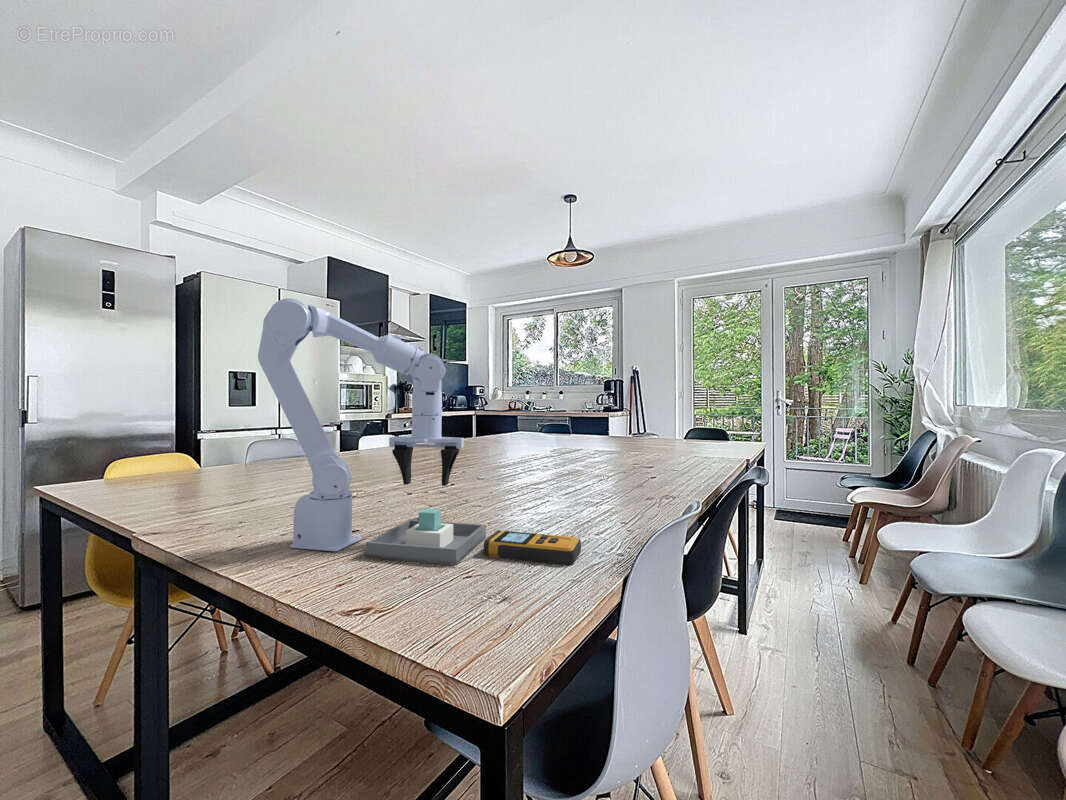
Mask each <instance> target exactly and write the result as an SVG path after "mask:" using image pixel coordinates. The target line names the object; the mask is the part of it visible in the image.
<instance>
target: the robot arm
mask: <svg viewBox="0 0 1066 800" xmlns="http://www.w3.org/2000/svg"><path fill="white" fill-rule="evenodd" d="M262 323H263V324H262V331H261V337H260V342H259V343H260V344H259V348H258V352H257V360H258V363H259V364H260V367H261V369H262V371H263V373H264V375H265V377H266V378H267V381H268V383H269V385H270V387H271V389H272V391H273V393H274V395H275V397H276V399H277V401H278V403H279V405H280V406H281V409H282V411H283V413H284V414H285V417H286V419H287V420H288V423H289V425H290V427H291V429H292V431H293V433H294V434H295V436H296V439H297V440H298V443H299V445H300V447H301V448H302V451H303V453H304V456H305V458H306V461H307V463H308V465H309V467H310V470H311V472H312V479H311V481H312V483H311V484H312V486H313V489H312V491H310V492H309V494H303V495H302V496H301V497H299V498H298V499H297V500H296V503H295V505H294V508H293V509H294V510H293V523H292V524H293V525H292V526H293V527H292V529H293V531H292V532H293V535H292V536H293V539H292V541H293V543H292V544H290V545H289V547H290V548H291V549H303V550H304V549H305V550H312V551H314V550H315V551H324V552H325V551H327V552H340V551H341V550H343V549H345V548H347V547H350V546H351V545H353V544H355V543H357V542H359V541H360V540H362V536H358V535H353V490H350V489H349V487H350V486H351V483H352V473H351V470H350V469H349V466H348V464H347V462H346V461H345V460H344V459H343V458H341V457H339V456H338V455H337V454H336V452H335V450H334V448H333V446H332V444H331V442H330V440H329V439H328V436H327V434H326V432H325V430H324V428H323V426H322V424H321V422H320V419H319V418H318V416H317V413H316V412H315V410H314V407H313V405H312V404H311V401H310V399H309V397H308V395H307V393H306V391H305V389H304V387H303V385H302V383H301V381H300V379H299V377H298V375H297V373H296V371H295V369H294V367H293V364H292V363H291V360H292V358H293V355H294V354H295V353H296V352H295V351H296V350H297V348H298V345H300V344H301V342H303V341H304V340H305V339H306V338H307V337H308V335H309V334H310V333H311V332H312V337H313V338H319V337H321V338H322V337H332V338H335V339H336V340H339V341H342V342H344V343H347V344H349V345H351V346H354V347H356V348H359V349H362V350H364V351H367V352H369V353H371V354H372V356H373V358H374V361H375V362H376V363H377V364H379V365H382V366H383V367H387V368H388V369H391V370H393V371H395V372H397V373H400V374H402V375H405V376H408V375H409V376H410V377H411V379H412V381H413V382H412V393H411V396H412V397H411V435H410V436H389V438H388V447H390V448H393V449H392V450H391V451H392V455H393V456H394V458H395V460H396V462H397V464H398V467H399V470H400V473H401V477H402V483H403V485H409V484H411V482H412V459H413V452H414V448H437V449H438V448H440V457H441V459H440V460H441V486H442V487H446V486H448V485H449V481H450V476H451V472H452V470H453V467H454V464H455V462H456V459H457V457H458V455H459V453H460V450H461V449H463V448H464V447H465V439H464V438H465V437H449V436H442V429H443V428H442V423H443V422H442V418H443V417H442V416H443V415H442V414H443V413H442V412H443V410H442V409H443V392H442V379H443V378H445V375H446V372H447V368H446V367H445V363H444V361H443V360H442V357H440V356H439V355H437V354H435V353H431V352H430V353H425V348H424V347H422V346H419V347H416V346H414V345H411V344H409V343H408V342H405V341H403V340H402V336H400V335H399V334H395V335H393V336H392V335H390V334H386V335H383V336H381V337H378V336H377V335H374V334H372V333H371V332H369V331H366V330H365V329H363V328H360V327H358V326H357V325H354V324H353V323H351V322H348V321H346V320H344V319H342V318H340V317H338V316H337V315H335V314H333V313H331V312H328V311H326V310H324V309H322V308H320V307H317V306H314V305H311V304H307V305H305V303H303V302H302V301H300V300H298V299H295V298H288V297H287V298H283V299H279V300H277V301H276V302H275V303H274V304H272V306H271V308H270V309H269V310H268V312H267V313H266V315H265V317H264V318H263V322H262Z"/></svg>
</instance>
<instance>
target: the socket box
mask: <svg viewBox="0 0 1066 800" xmlns="http://www.w3.org/2000/svg"><path fill="white" fill-rule="evenodd" d="M486 529H487V525H486V524H482V523H481V524H479V523H466V522H465V523H464V522H451V521H441V529H440V530H438V531H437V532H436V531H422V530H419V519H407V520H406V521H404V522H402V523H400V524H398V525H396V526H395V527H393V528H391V529H389V530H387V531H385V532H383V533H381V534H379V535H378V536H376V537H373V538H372V539H370V540H368V541H367V542H365V558H368V559H380V560H381V559H383V560H393V561H402V562H403V561H404V562H415V563H428V564H440V565H452V566H457V565H458V564H459V563H460V562H461V561H462V560H464V558H466V556H468V555H469V554H470V552H472V551H473V550H474V549H475V548H476V547H478V545H480V544H481V543H482V542H484V541H485V540H486V539H487V538H486V534H487V533H486V532H487V530H486Z"/></svg>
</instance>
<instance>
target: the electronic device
mask: <svg viewBox="0 0 1066 800" xmlns="http://www.w3.org/2000/svg"><path fill="white" fill-rule="evenodd" d="M483 542H484V543H483V556H484V557H489V558H490V557H492V558H500V559H507V560H517V561H526V562H534V563H545V564H552V565H561V566H562V565H563V566H571V565H574V564H575V562H576V560H577V559H578V558H579V556H580V554H581V551H582V542H581V539H580V538H578V537H575V536H568V535H567V536H565V535H555V534H544V533H532V532H523V531H521V532H520V531H510V530H509V531H508V530H496V531H495V532H494V533H492V534H491V535H490V536H488V537H487V538H485V539H484V541H483Z"/></svg>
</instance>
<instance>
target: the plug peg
mask: <svg viewBox="0 0 1066 800" xmlns="http://www.w3.org/2000/svg"><path fill="white" fill-rule="evenodd" d="M418 520H419V530H422V531H436V532H437V531H438V530H440V529H441V522H442V509H437V508H436V509H435V508H425V509H422V510H420V511H418Z"/></svg>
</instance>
